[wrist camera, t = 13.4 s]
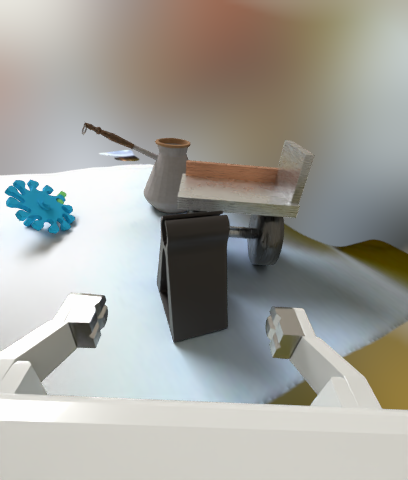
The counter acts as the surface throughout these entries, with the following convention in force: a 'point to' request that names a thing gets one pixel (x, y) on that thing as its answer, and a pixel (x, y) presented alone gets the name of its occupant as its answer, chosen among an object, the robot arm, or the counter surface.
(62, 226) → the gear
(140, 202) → the counter surface
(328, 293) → the counter surface
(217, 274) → the phone stand
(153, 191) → the coffee pot
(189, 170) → the trolley
